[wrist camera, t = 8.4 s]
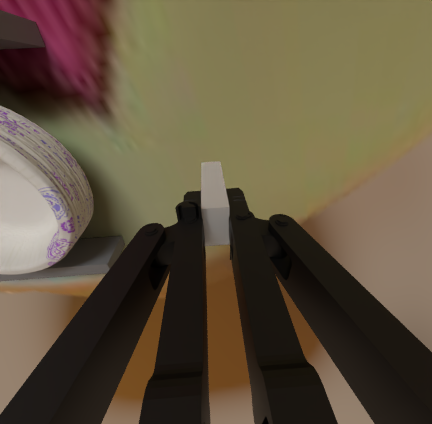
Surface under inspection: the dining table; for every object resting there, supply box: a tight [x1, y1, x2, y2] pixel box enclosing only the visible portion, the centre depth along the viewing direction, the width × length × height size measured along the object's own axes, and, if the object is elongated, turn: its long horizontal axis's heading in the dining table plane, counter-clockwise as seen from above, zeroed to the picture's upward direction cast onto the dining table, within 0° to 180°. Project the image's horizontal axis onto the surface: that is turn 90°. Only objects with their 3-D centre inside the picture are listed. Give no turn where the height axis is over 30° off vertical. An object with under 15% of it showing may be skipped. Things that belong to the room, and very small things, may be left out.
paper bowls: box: [0, 106, 94, 275], centre depth 19 cm, size 15×15×8 cm
